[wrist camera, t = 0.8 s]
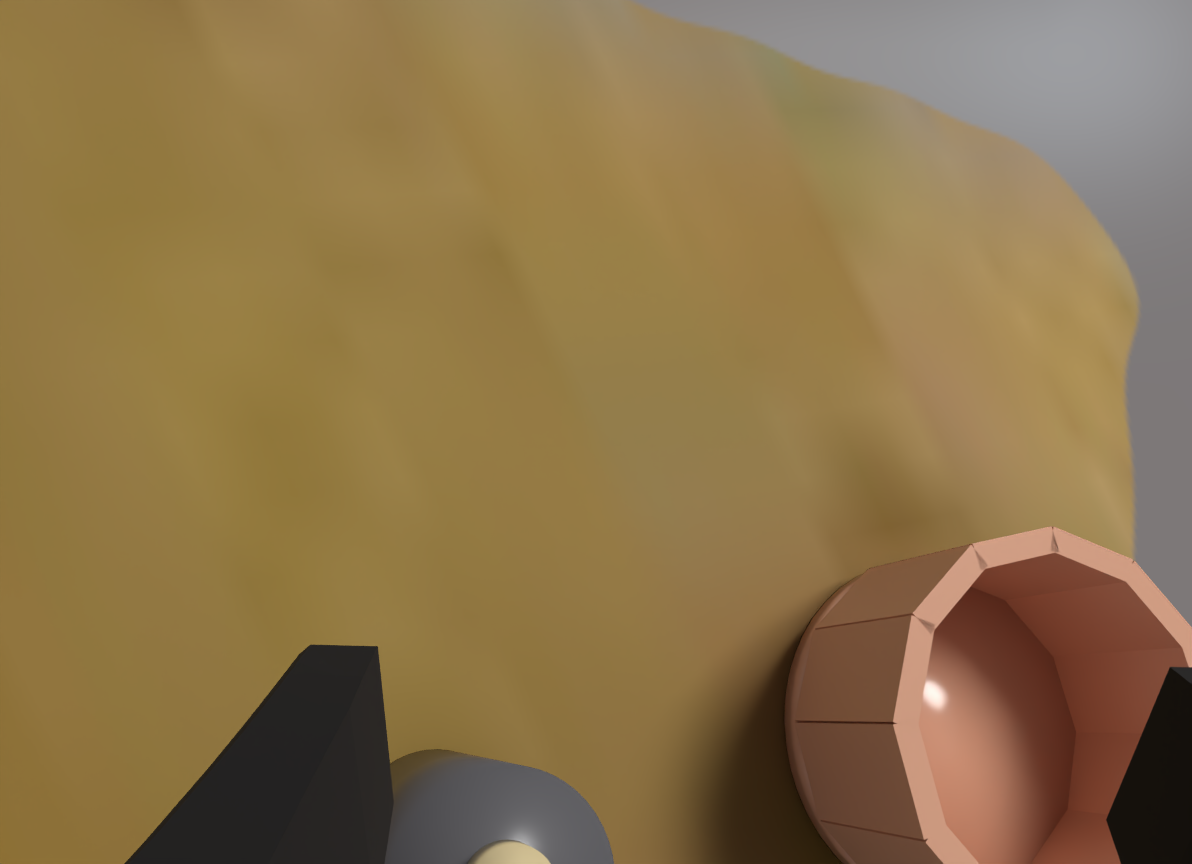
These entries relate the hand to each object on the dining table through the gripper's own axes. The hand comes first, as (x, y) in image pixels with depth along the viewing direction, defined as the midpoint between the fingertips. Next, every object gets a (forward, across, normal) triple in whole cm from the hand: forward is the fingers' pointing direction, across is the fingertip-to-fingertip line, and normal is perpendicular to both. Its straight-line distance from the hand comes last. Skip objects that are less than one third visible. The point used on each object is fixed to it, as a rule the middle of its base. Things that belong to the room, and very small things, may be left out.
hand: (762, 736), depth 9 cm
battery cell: (+8, +5, +12) cm, 15 cm away
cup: (+12, -8, +13) cm, 19 cm away
